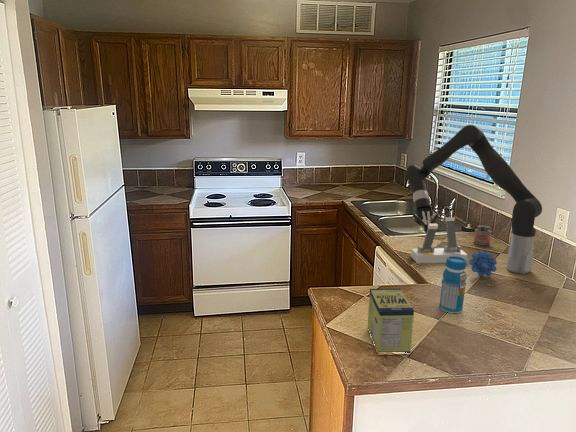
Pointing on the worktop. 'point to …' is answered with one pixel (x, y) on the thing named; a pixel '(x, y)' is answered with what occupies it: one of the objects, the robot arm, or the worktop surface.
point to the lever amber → (429, 237)
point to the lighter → (482, 235)
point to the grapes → (483, 263)
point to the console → (436, 254)
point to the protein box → (390, 320)
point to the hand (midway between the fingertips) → (428, 232)
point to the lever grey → (451, 233)
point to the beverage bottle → (453, 285)
